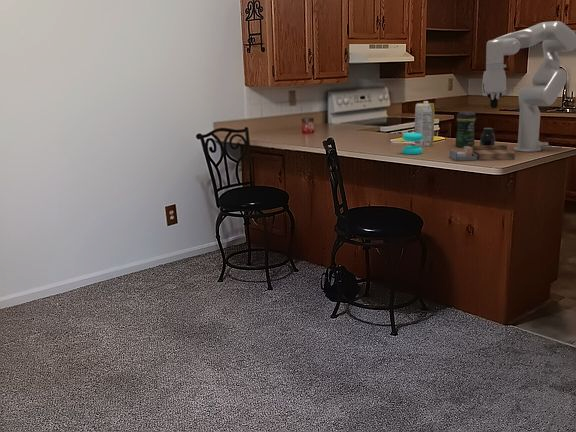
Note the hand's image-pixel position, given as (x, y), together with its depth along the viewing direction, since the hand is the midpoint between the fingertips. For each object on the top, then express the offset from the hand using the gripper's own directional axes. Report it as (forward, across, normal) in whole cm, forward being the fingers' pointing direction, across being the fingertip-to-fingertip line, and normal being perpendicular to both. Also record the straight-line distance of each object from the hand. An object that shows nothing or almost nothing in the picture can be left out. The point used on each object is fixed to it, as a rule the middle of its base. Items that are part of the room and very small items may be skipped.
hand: (493, 107), depth 275 cm
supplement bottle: (+23, 0, -10) cm, 25 cm away
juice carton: (+23, +24, -42) cm, 53 cm away
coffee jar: (+24, +4, -32) cm, 40 cm away
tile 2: (+19, +12, +5) cm, 24 cm away
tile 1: (+19, +18, +5) cm, 27 cm away
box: (+22, +16, +5) cm, 28 cm away
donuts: (+22, +35, -16) cm, 45 cm away
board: (+23, +2, +6) cm, 23 cm away
